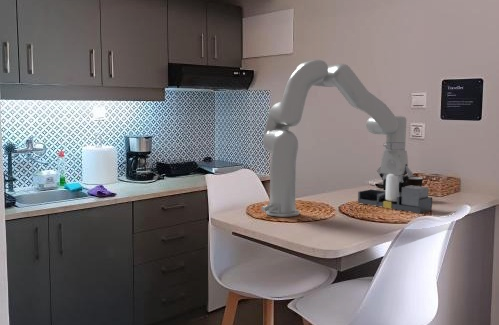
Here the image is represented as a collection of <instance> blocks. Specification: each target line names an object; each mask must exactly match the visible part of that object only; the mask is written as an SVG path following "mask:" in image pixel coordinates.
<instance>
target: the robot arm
mask: <svg viewBox="0 0 499 325" xmlns="http://www.w3.org/2000/svg"><path fill="white" fill-rule="evenodd" d="M313 86H314V87H324V88H336V89H337V90H338V91H339V93H341V95H342V96H343V98H344V99H345V100H346V101H347V102H348V105H350V106H351V107H353V108H355V109H357V110H359V111H362V112H364V113H366V114H367V115H369V117H368V119H367V120H366V122H365V128H366V129H367V131H368V132H370V133H371V134H374V135H382V136H383V135H385V137H386V138H385V143H383V147H385V149H384V150H383V152H382V157H381V163H380V167H378V168H377V170H376V172H377V173H378V175H379V177H380V178H381V180H382V181H383V182H382V183H383V184H382V188H383V190H382V191H386V174H393V175H396V176H399V178H400V181H401V182H400V183H399V192H402V187H405V182H407V180H408V179H409V178H410V177H413V175H414V173H413V171H411V169H410V168H409V158H408V152H407V150H406V139H407V118H406V117H405V116H402V115H395V114H394V113H393V111H392V110H391V109H390V107H388V106H387V104H386V103H385V102H383V101H382V100H381V99H380V98H378V97H376V95H375V94H373V93H372V92H370V90H368V89H367V88H366V86H365V85H364V84H363V82H362V81H361V79H359V77H358V76H357V75H356V73H355V72H354V70H353V69H352V68H351V67H350V66H349V65H348V64H345V63H337V64H331V65H330V64H329V65H328V64H327V63H326V61H324V60H323V59H313V60H308V61H305V62H301V63H300V64H298V65H297V66H296V68H295V70H294V71H293V73H291V75H290V77H289V79H288V80H287V82H286V85H285V88H284V92H283V96H282V98H281V101H279V102H276V103H275V104H273V105H272V107H271V109H269V112H268V115H267V119H266V122H265V128H264V132H263V137H262V144H263V148H264V149H265V150H266V151H267V152H268V153H271V159H270V165H269V166H270V170H269V171H270V172H269V174H270V176H269V180H270V182H269V184H270V185H269V202H267V205H263V206H261V208H260V209H261V212H265V214H266V215H268V216H272V217H276V218H277V217H278V218H279V217H280V218H288V217H290V218H291V217H296V216H298V215H300V210H299V209H296V192H297V191H296V188H297V187H296V180H297V178H296V176H297V156H298V151H299V140H298V138H297V135H296V134H295V133H294V132H293V131H291V130H289V129H290V128H291V127H295V126H298V125H299V123H300V122H301V121H302V116H303V112H304V109H305V104H306V100H307V96H308V93H309V92H310V89H311V88H312V87H313Z"/></svg>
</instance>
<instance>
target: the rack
mask: <svg viewBox="0 0 499 325" xmlns="http://www.w3.org/2000/svg"><path fill="white" fill-rule="evenodd" d="M385 192H386V190H378V189H366V190H360V191H358V192H357V193H358V194H357V204H358V203H363V204H370V205H376V206H382V207H386V208H392V209H391V210H393V209H397V210H396V211H399V210H404V211H403V212H406V211H411V212H410V213H412V212H416V213H415V214H418V213H421V214H423V213H422V212H425V213H428V212H432V210H433V197H432V196H429V187H427V186H422V187H421V186H413V185H410V186H405V187H402V196H400V197H397V202H390V201H386V200H385ZM386 208H385V209H386ZM427 211H428V212H427Z"/></svg>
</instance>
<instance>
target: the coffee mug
mask: <svg viewBox="0 0 499 325" xmlns="http://www.w3.org/2000/svg"><path fill="white" fill-rule="evenodd" d="M423 179H424V178H423V177H419V176H411V177H410V178H409V179H408V180H407V182H405V186H410V185H413V186H421V187H423V186H422V185H423V181H424V180H423Z"/></svg>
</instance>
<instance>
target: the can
mask: <svg viewBox="0 0 499 325" xmlns="http://www.w3.org/2000/svg"><path fill="white" fill-rule="evenodd" d="M400 182H401V181H400V178H399V176H396V175H393V174H386V190H385V191H386V192H385V200H386V201H390V202H397V197H400V196H402V192H399V183H400Z"/></svg>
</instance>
